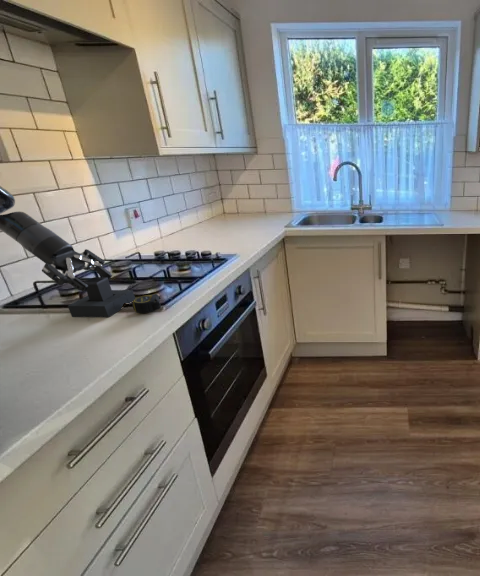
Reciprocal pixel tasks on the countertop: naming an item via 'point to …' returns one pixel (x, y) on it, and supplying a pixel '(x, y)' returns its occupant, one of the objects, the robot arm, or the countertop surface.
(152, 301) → the tape measure
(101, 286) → the pad post
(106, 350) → the countertop surface
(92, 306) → the base pad
